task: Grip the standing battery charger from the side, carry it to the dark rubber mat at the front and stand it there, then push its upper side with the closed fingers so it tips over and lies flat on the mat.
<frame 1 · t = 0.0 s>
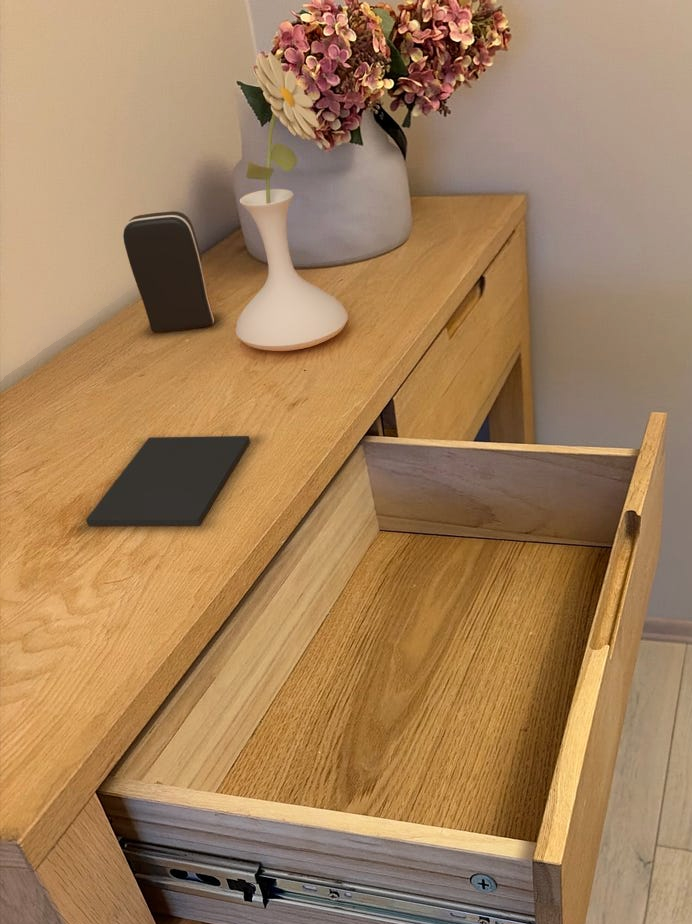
mat: (173, 481, 79), on the table
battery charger: (185, 326, 106), on the table
flower in vase: (300, 337, 101), on the table
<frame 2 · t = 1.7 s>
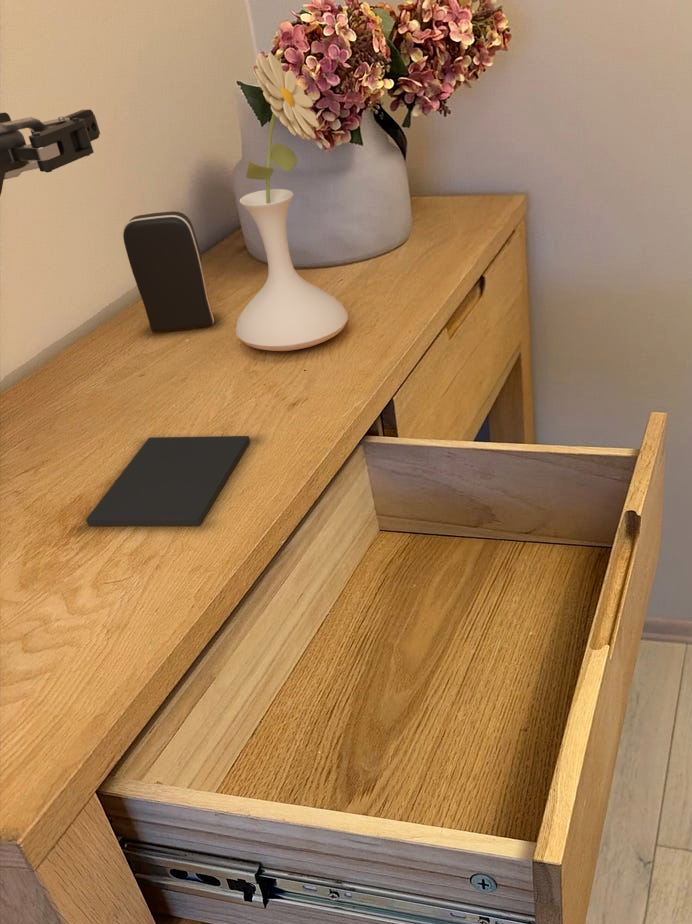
hand: (50, 124, 84), 22 cm above the table, tool horizontal, fingers open, 8 cm apart
nothing on the table moved.
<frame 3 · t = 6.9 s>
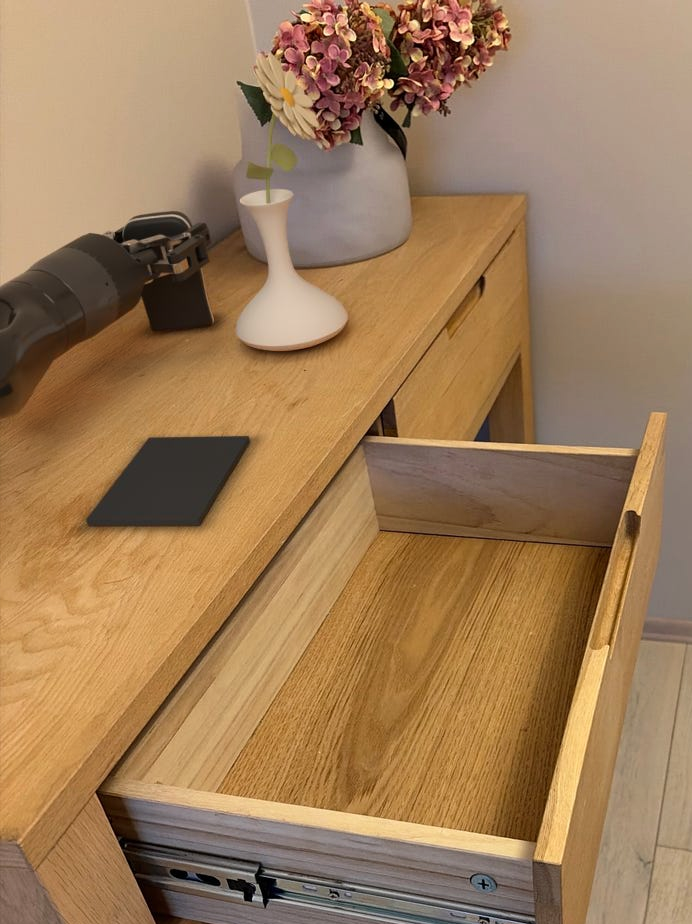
hand: (172, 232, 102), 9 cm above the table, tool horizontal, fingers closed on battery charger, 7 cm apart
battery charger: (185, 326, 106), on the table, touching gripper
everything else where it was.
when the fingers open (10 cm above the table, at t = 17.6 s): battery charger stays where it is, resting on mat.
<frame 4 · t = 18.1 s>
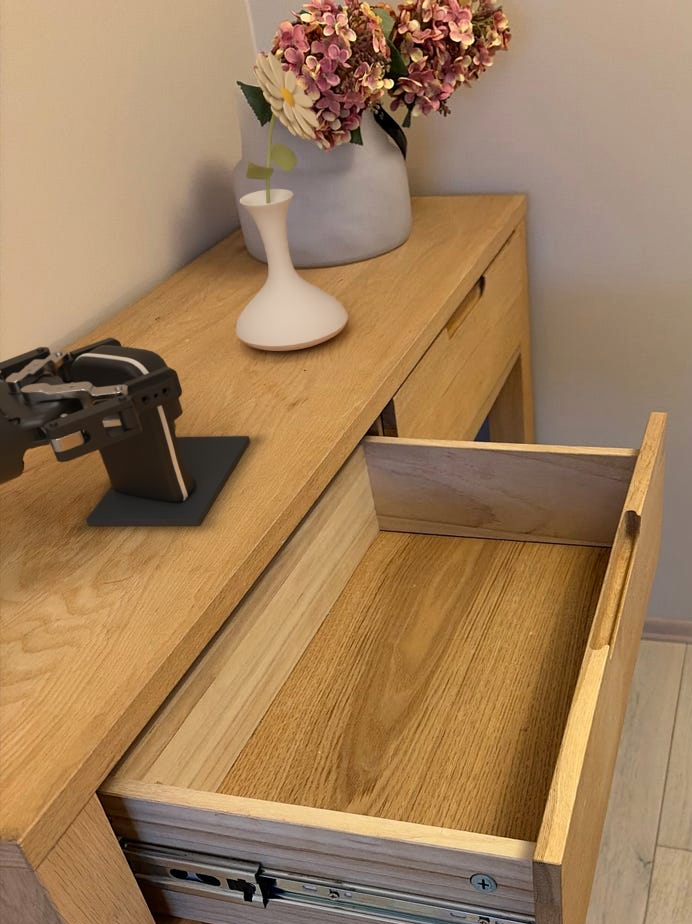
hand: (148, 364, 72), 10 cm above the table, tool horizontal, fingers open, 8 cm apart
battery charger: (161, 491, 78), resting on mat
everything else where it was.
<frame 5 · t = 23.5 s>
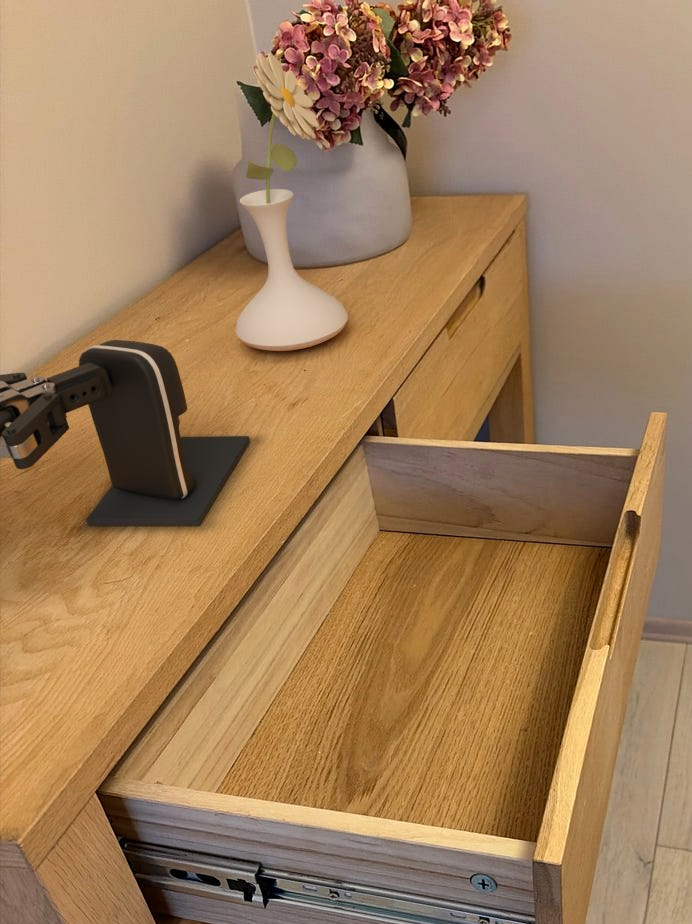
hand: (104, 377, 70), 11 cm above the table, tool horizontal, fingers closed
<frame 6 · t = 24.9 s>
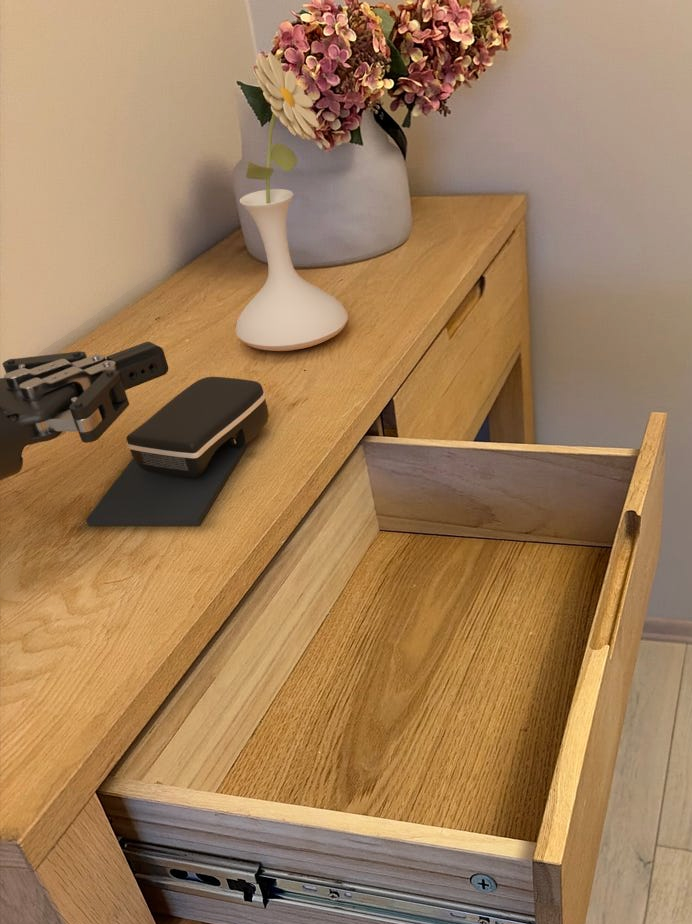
hand: (160, 356, 73), 10 cm above the table, tool horizontal, fingers closed
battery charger: (161, 465, 77), point 2 cm above the table, touching mat
everything else where it was.
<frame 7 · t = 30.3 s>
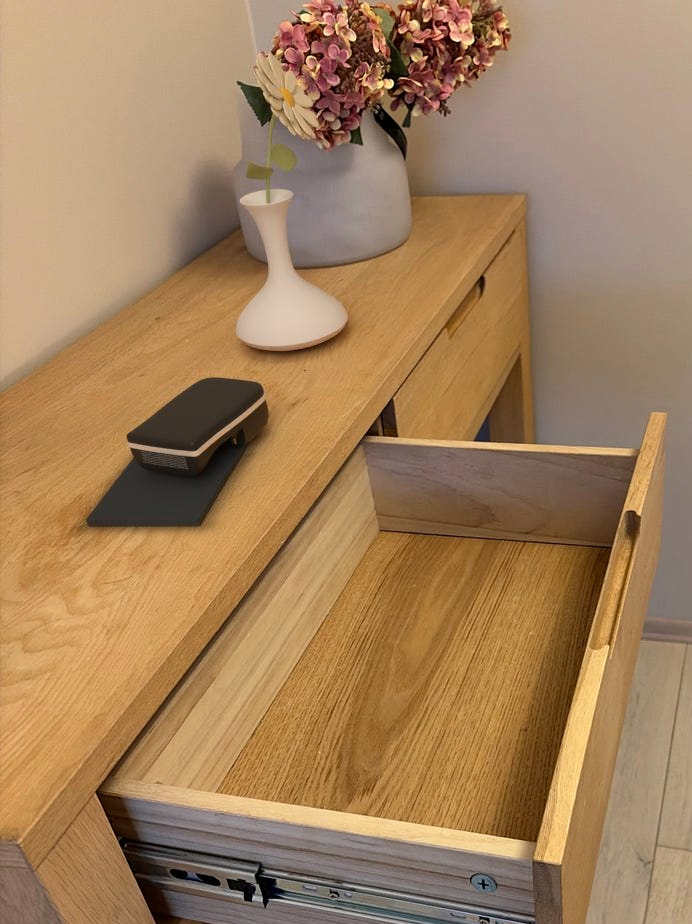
nothing on the table moved.
at the end: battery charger tilted 90°; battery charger inside the target area on the mat (2.4 cm from its centre), point 2.5 cm above the mat's base; the gripper is holding nothing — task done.
